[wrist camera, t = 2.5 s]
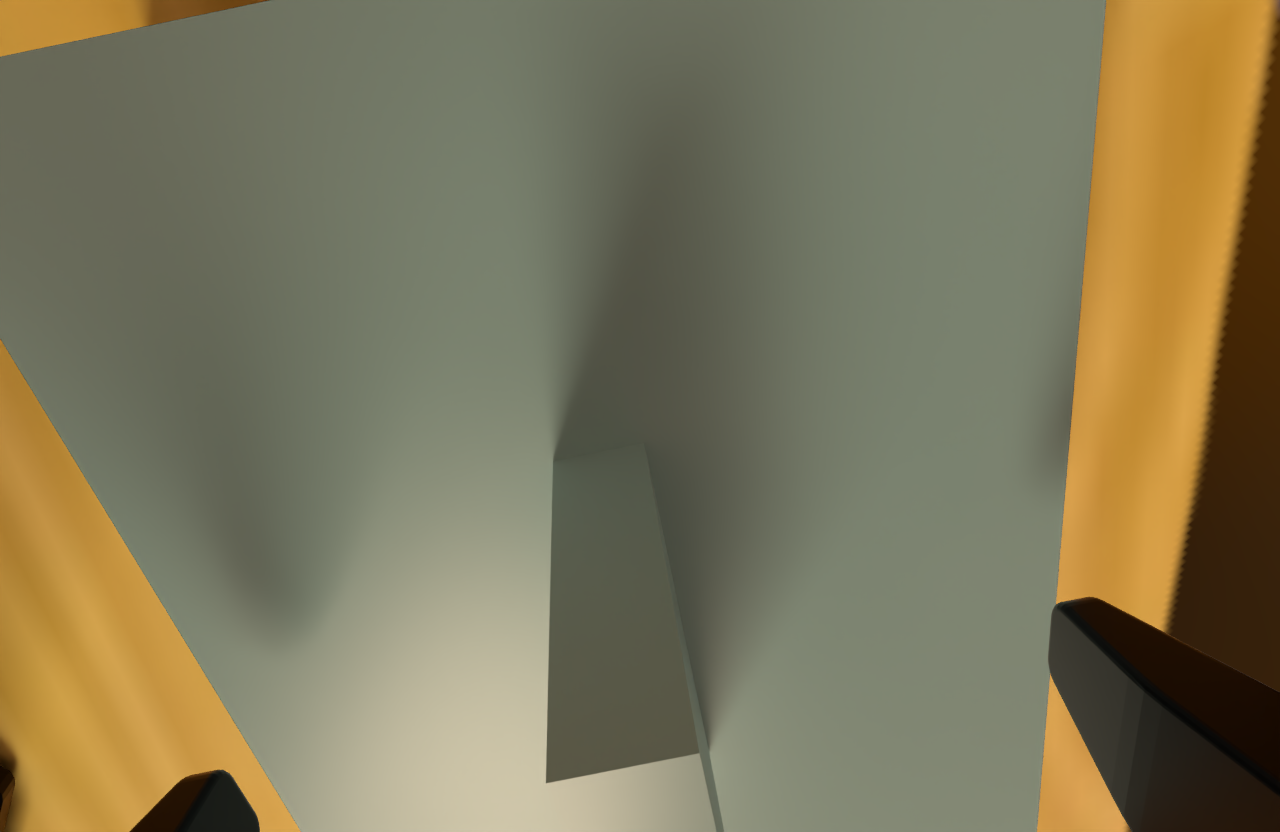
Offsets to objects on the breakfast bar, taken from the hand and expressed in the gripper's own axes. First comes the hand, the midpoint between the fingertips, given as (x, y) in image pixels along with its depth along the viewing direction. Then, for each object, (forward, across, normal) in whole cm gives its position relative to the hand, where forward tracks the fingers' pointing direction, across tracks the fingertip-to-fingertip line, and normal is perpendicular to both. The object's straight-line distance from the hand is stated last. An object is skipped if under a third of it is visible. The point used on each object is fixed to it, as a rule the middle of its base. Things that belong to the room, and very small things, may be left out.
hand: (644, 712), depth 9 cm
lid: (+3, 0, 0) cm, 3 cm away
